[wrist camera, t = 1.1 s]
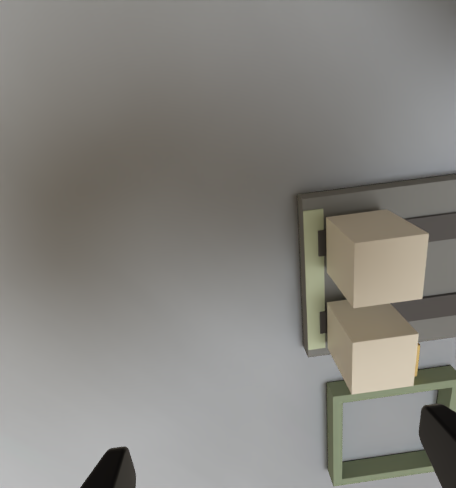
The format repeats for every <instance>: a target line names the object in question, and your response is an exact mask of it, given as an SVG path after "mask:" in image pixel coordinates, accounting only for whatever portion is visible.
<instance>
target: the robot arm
mask: <svg viewBox="0 0 456 488" xmlns="http://www.w3.org/2000/svg"><path fill="white" fill-rule="evenodd" d="M419 437H420V440H421V443H422V445H423V447H424V449H425V452H426V454H427V456H428V458H429V460H430V462H431V464H432V467H433V469H434V471H435V473H436V475H437V477H438V479H439V482H440V484H441V486H442V488H456V412H455V411H453V410H451V409H450V408H448V407H447V406H445V405H443V404H431V405H425V406H423V408H422V410H421V417H420V425H419ZM135 486H136V474H135V469H134V466H133V462H132V459H131V456H130V452H129V450H128V448H127V447H117V448H111V449H109V450H108V451H107V452H106V453H105V454H104V455H103V457H102V458H101V460H100V461H99V462H98V464H97V465H96V467H95V468H94V469H93V471H92V472H91V473H90V475H89V476H88V478H87V479H86V480H85V482H84V483H83V485H82V486H81V487H80V488H135Z"/></svg>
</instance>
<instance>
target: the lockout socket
mask: <svg viewBox="0 0 456 488" xmlns="http://www.w3.org/2000/svg"><path fill="white" fill-rule="evenodd" d="M419 352H420V344H419V343H418V346H417V356H416V366H415V376H414V386H409V387H402V388H395V389H388V390H381V391H374V392H367V393H360V394H353V395H352V394H351V392H350V390H349V388H348V387H347V385H346V383H345V381H344V380H343V381H336V382H329V383H327V437H328V472H329V475H330V477H331V480H332V483H333V486H339V485H346V484H353V483H360V482H366V481H373V480H380V479H387V478H394V477H400V476H407V475H414V474H421V473H428V472H434V469H433V467H432V464H431V462H430V460H429V458H428V456H427V454H426V452H425V450H423V451H416V452H409V453H402V454H396V455H389V456H382V457H375V458H368V459H361V460H354V461H347V462H342V418H343V403H346V402H353V401H360V400H367V399H374V398H381V397H388V396H395V395H402V394H409V393H416V392H423V391H430V390H437V389H439V390H438V398H437V404H443V405H445V406H447V407H448V408H450V409H451V410H453V411H455V412H456V370H455V369H454V368H453V367H452V366H451V365H450V366H443V367H436V368H428V369H421V370H418V361H419Z"/></svg>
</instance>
